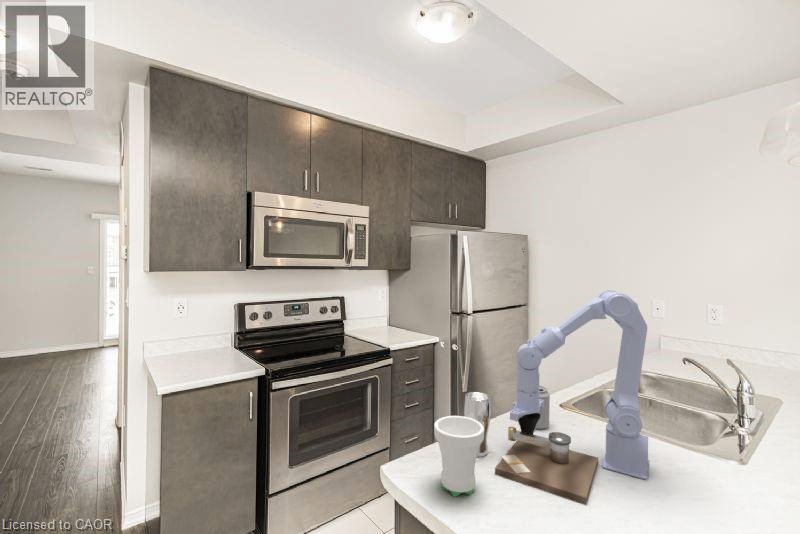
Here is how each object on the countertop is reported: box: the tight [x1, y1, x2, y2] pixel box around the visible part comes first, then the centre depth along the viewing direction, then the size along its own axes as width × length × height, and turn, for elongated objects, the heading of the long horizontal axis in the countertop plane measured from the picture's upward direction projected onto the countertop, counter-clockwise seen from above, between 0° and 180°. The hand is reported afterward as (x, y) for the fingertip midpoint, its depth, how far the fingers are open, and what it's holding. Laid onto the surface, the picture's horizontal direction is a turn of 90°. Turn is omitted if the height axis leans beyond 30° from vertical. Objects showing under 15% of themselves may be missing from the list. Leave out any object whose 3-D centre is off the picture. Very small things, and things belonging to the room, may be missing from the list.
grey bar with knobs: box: [507, 426, 572, 463], centre depth 99 cm, size 16×5×6 cm, turn 57°
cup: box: [433, 415, 484, 497], centre depth 86 cm, size 11×11×14 cm
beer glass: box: [463, 391, 492, 458], centre depth 103 cm, size 7×7×15 cm
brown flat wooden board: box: [494, 440, 599, 506], centre depth 95 cm, size 21×20×2 cm
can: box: [534, 384, 551, 430], centre depth 119 cm, size 8×8×12 cm
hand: (527, 439), depth 102 cm, fingers closed
